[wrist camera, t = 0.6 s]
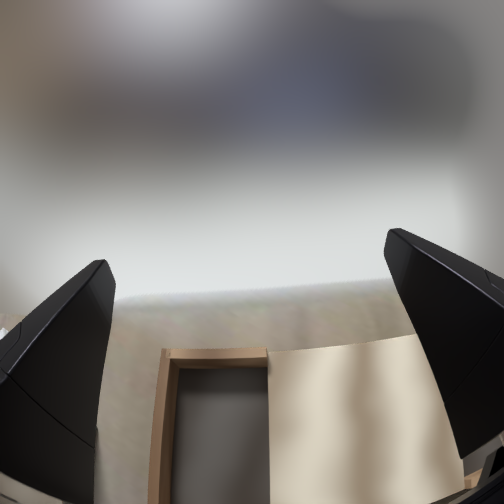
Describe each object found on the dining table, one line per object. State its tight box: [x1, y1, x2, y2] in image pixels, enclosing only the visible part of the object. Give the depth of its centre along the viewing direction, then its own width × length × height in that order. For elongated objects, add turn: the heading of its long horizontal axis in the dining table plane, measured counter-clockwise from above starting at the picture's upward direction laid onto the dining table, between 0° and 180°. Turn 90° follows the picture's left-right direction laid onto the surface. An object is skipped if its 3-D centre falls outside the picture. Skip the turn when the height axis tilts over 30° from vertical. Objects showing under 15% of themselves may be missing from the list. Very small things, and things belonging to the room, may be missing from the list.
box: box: [148, 334, 503, 504], centre depth 16 cm, size 30×14×3 cm, turn 90°
